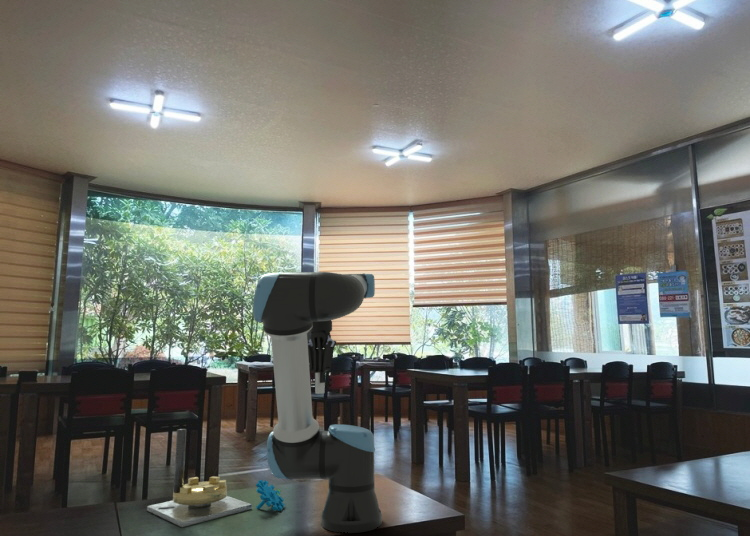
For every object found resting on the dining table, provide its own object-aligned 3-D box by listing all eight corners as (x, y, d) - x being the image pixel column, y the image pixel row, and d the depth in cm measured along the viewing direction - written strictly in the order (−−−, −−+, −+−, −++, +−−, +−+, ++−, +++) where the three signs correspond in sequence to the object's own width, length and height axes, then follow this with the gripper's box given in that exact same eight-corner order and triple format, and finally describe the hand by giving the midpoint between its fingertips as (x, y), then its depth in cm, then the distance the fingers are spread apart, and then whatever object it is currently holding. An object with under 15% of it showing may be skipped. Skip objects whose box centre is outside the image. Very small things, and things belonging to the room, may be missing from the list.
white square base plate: (251, 509, 139) (251, 498, 139) (181, 527, 124) (182, 515, 125) (214, 495, 152) (214, 485, 153) (147, 510, 138) (147, 499, 138)
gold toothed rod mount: (215, 488, 148) (218, 422, 151) (234, 498, 138) (237, 427, 141) (165, 496, 140) (169, 427, 143) (181, 508, 129) (185, 432, 132)
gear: (275, 510, 132) (253, 479, 136) (259, 526, 132) (238, 495, 136) (293, 504, 142) (272, 476, 146) (278, 519, 142) (257, 490, 146)
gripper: (342, 319, 164) (342, 393, 161) (316, 321, 173) (315, 391, 169) (325, 318, 159) (324, 395, 155) (299, 320, 168) (297, 393, 164)
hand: (319, 393), depth 162 cm, fingers closed
